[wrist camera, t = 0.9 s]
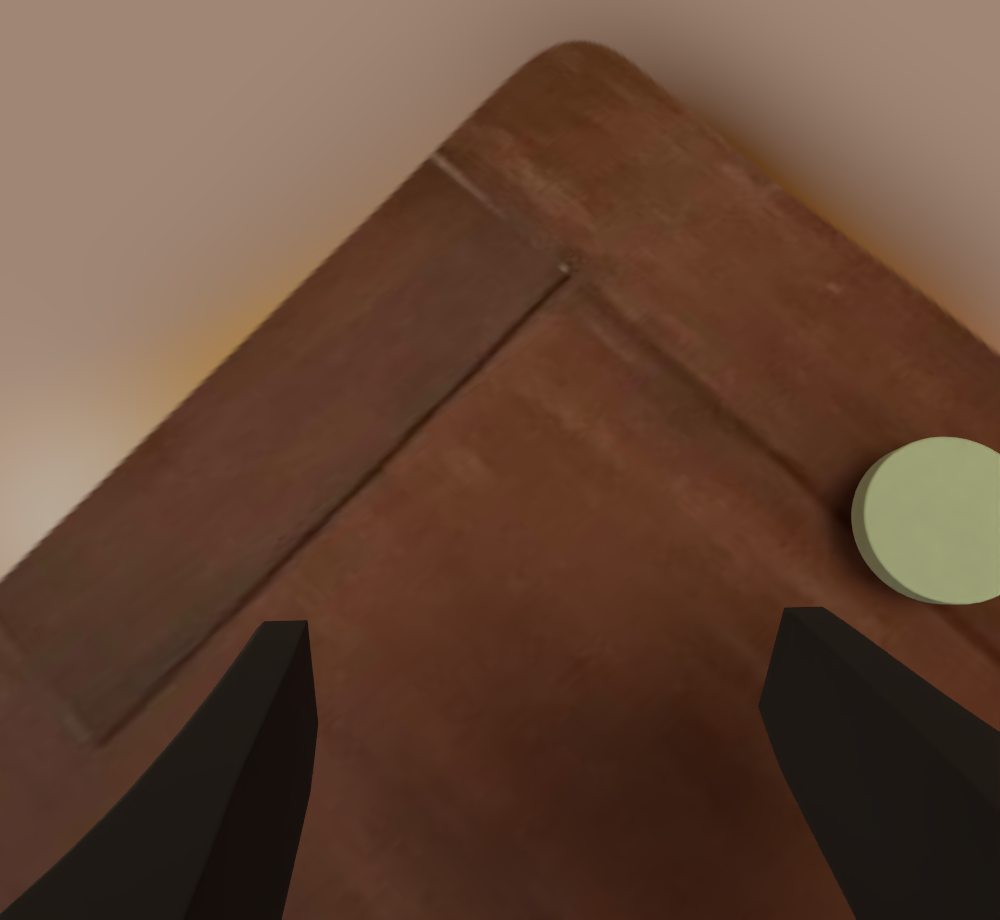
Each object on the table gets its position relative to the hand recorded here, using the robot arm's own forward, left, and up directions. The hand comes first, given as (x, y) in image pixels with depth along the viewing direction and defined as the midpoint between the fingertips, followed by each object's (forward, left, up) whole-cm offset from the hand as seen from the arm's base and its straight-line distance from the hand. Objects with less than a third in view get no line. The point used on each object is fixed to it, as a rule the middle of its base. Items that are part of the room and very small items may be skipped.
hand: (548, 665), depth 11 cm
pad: (-7, -10, -16) cm, 21 cm away
